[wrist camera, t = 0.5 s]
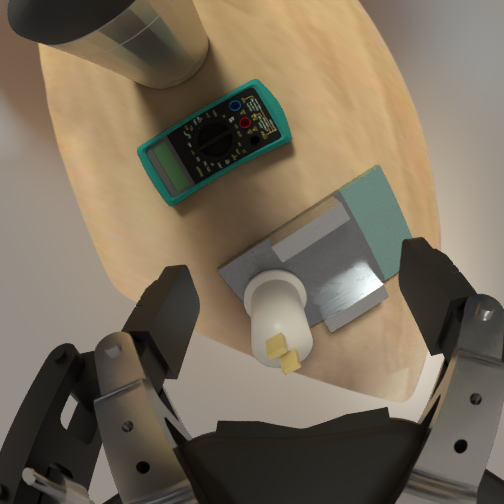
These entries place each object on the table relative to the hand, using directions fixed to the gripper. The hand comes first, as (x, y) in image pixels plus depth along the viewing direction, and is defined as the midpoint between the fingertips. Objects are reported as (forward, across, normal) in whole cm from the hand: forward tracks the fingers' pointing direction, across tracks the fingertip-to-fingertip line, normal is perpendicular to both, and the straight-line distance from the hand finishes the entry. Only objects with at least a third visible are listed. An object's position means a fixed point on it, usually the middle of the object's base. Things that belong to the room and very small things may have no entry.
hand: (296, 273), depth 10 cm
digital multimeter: (+21, +7, -3) cm, 22 cm away
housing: (+20, -4, +12) cm, 23 cm away
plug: (+18, +3, +15) cm, 23 cm away
